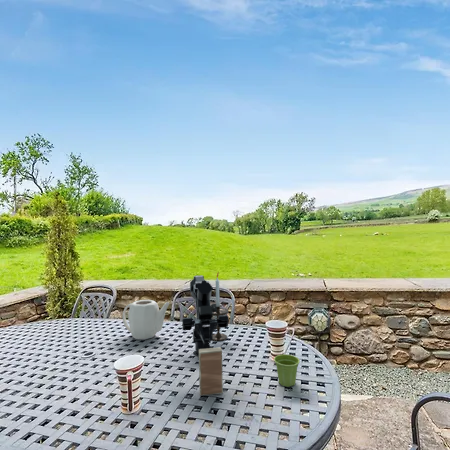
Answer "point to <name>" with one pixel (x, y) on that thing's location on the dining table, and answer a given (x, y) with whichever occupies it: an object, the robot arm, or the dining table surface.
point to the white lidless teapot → (144, 318)
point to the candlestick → (219, 312)
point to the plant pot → (286, 369)
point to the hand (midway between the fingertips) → (207, 342)
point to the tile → (210, 371)
